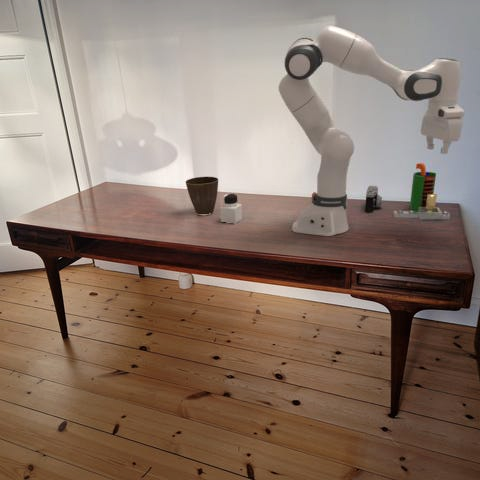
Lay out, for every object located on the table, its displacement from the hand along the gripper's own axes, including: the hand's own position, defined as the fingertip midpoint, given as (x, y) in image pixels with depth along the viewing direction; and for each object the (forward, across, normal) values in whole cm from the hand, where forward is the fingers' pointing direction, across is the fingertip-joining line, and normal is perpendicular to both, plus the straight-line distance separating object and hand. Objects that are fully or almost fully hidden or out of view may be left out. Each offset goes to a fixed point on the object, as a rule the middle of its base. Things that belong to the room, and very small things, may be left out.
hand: (436, 151), depth 148 cm
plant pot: (+31, -46, -84) cm, 101 cm away
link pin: (+30, -19, +10) cm, 37 cm away
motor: (+31, -31, +12) cm, 45 cm away
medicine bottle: (+31, -32, -72) cm, 85 cm away
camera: (+31, -36, -7) cm, 49 cm away
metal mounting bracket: (+31, -20, +7) cm, 38 cm away
